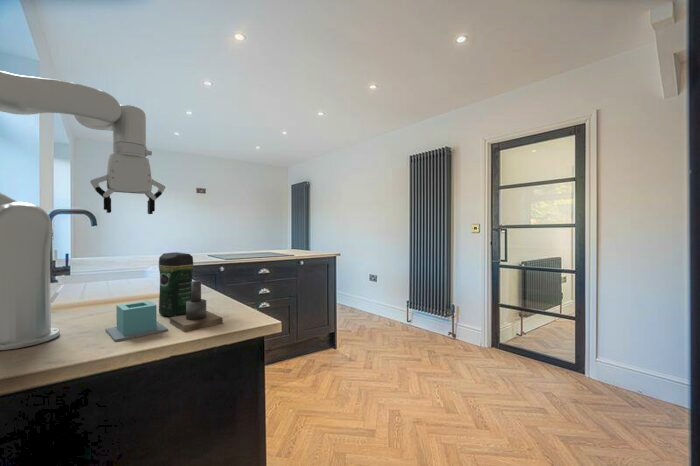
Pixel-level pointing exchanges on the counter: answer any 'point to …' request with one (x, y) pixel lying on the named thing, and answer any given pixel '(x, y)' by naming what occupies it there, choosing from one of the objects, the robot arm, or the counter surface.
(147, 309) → the teal boxy piece
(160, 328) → the mat
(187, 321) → the peg stand
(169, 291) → the coffee jar
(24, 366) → the counter surface
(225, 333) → the counter surface
